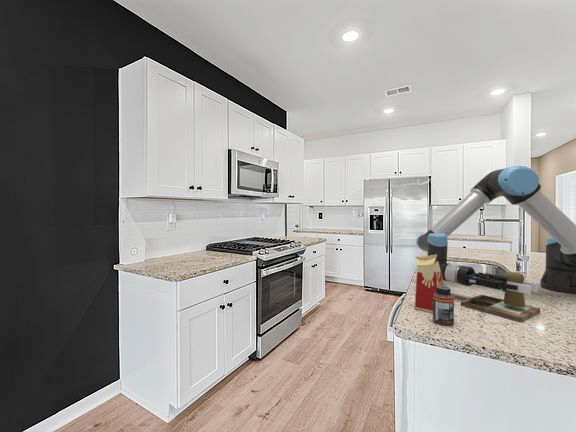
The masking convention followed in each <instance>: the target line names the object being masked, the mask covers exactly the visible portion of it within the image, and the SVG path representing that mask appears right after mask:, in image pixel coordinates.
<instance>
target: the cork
mask: <svg viewBox="0 0 576 432" xmlns="http://www.w3.org/2000/svg"><path fill="white" fill-rule="evenodd" d="M504 276H505V279H506V280H507V282H513V283H518V284H522V283H523V282H524V281H525V275H523V273H521V272H516V271H515V272H514V271H510V272H509V271H508V272H506V274H505V275H504ZM503 300H504V301H503V303H504V304H506V305H510V306H514V307H525V305H526V300H525V293H520V292H515V291H511V290H507V289H506V292H504V296H503Z"/></svg>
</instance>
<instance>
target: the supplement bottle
mask: <svg viewBox="0 0 576 432" xmlns="http://www.w3.org/2000/svg"><path fill="white" fill-rule="evenodd" d="M454 297H455V296H454V295H453V294H452V293H451V287H449V286H446V285H444V286H437V287H436V292H435V293H434V294H433V313H432V320H433V322H435V323H436V324H439V325H443V326H451V325H453V324H454V323H455V322H454V320H455V298H454Z"/></svg>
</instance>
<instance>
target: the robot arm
mask: <svg viewBox="0 0 576 432" xmlns="http://www.w3.org/2000/svg"><path fill="white" fill-rule="evenodd" d="M538 175H539V174H538V173H537V172H536V171H535V170H534V169H532V168H531V167H528V166H525V165H512V166H508V167H506V168H501V169H496V170H492V171H490V172H489V173H487V174H486V175H485V176H484V177H482V178H481V180H480V181H478V182H477V183H476V184H475V185H474V186H473V187H471V188H470V192H469V193H468V195H466V196H465V197H464V198H463V199H462V200H461V201H460V202H458V203H457V204H456V205H455V206H454V207H453V208H452V209H451V210H450V211H449V212H447V213H446V214H445V216H443V217H442V218H441V219H439V221H437V223H435V224H434V225H433V227H431V228H430V229H429V230H428V231H426V233H425V234H421V235H419V236H418V237H417V239H416V245H417V247H418V249H420V250H422V251H424V252H426V253H427V256H431V255H436V254H437V257H436V258H437V260H438V262H439V266H440V270H441V274H442V279H443V282H449V283H451V284H452V285H455V284H457V285H461V286H465V287H471V286H473V285H475V286H478V287H484V288H489V289H494V290H498V291H502V292H504V293H505V292H506V289H507V290H511V291H515V292H520V293H524V295H532V292H535V293H537V292H538V285H539V286H540V287H541V288H543V289H545V290H549V291H550V290H551V291H555V292H559V293H566V294H576V223H574V222H573V221H572V220H571V219H570V218H569V217H568V216H567V215H566V214H565V213H564V212H563V211H562V210H561V209H560V208H558V207H557V206H556V205H555V203H554V202H552V201H551V200H550V199H549V198H548V197H547V195H546V194H544V193H543V192H542V191H541V190H542V187H543V186H542V185H541V184H540V182H539V176H538ZM500 197H504V198H505V200H507V201H508V202H509V203H510V205H513V206H519V207H520V208H521V209H522V210H523V211H524V212H525V213H526V214H527V215H528V216H529V217H531V218H532V219H533V221H535V222H536V223H537V224H538V225H539V226H540V227H541V228H542V229H543V230H544V231H545V232H546V233H548V234H549V236H551V237H548V238H547V239H546V243H545V269H544V270H545V271H544V272H543V274H542V277H541V279H540V281H539V284H538V282H537V283H535V282H530V281H525V280H524V282H523V283H522V284H518V283H513V282H507V280H506V279H505V275H504V276H503V275H498V274H493V273H488V272H485V273H483V272H477V273H476V271H475V269H474V268H473V267H472V266H467V265H461V264H455V263H450V262H448V245H449V244H448V243H449V241H448V237H449V236H450V235H452V233H453V232H455V231H456V230H457V229H458V228H459V227H460V226H461V225H463V224H464V223H465V222H466V221H467V220H468V219H469V218H471V217H472V216H473V215H474V214H475V213H476V212H478V211H479V210H480V209H481V208H482V207H483V206H484V205H485V204H486V205H488V204H490V203H491V202H492V201H494V200H495V199H498V198H500Z"/></svg>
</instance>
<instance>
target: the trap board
mask: <svg viewBox="0 0 576 432" xmlns="http://www.w3.org/2000/svg"><path fill="white" fill-rule="evenodd" d="M503 301H504V298H499V297H495V296H489V295H485V294H480V295H476V296H473V297H470V298H468V299H464V300H462V301H460V306H461V307H464V308H468V309H473V310H476V311H479V312H482V313H486V314H489V315H494V316H497V317H501V318H504V319H508V320H509V321H510V320H511V321H514V322H517V323H523V322H525V321H526V320H528V319H531V318H533V317H534V316H536V315H539V314H540V313H541V308H540V307H537V306H532V305H528V304H525V307H514V306H510V305H506V304H504V303H503Z"/></svg>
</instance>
